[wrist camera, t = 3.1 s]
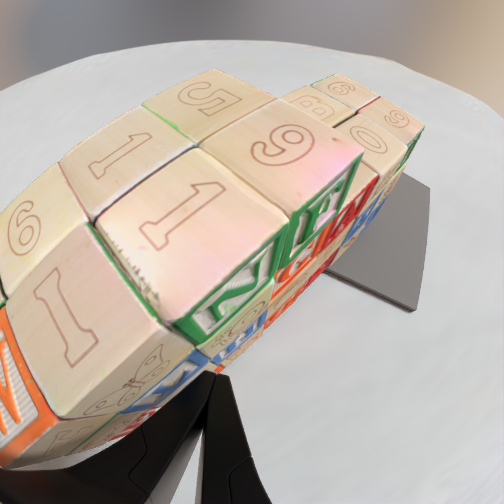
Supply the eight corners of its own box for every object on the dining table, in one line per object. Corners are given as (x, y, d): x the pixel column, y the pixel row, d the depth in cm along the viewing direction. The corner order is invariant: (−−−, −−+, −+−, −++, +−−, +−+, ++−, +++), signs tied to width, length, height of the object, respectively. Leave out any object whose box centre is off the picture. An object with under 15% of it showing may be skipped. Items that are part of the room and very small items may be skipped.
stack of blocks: (315, 169, 22) (348, 29, 11) (375, 217, 20) (450, 84, 9) (92, 351, 15) (-63, 281, 4) (149, 430, 13) (-6, 473, 2)
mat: (413, 311, 18) (416, 310, 18) (131, 184, 21) (130, 181, 21) (428, 190, 24) (430, 188, 23) (211, 99, 26) (210, 96, 26)
